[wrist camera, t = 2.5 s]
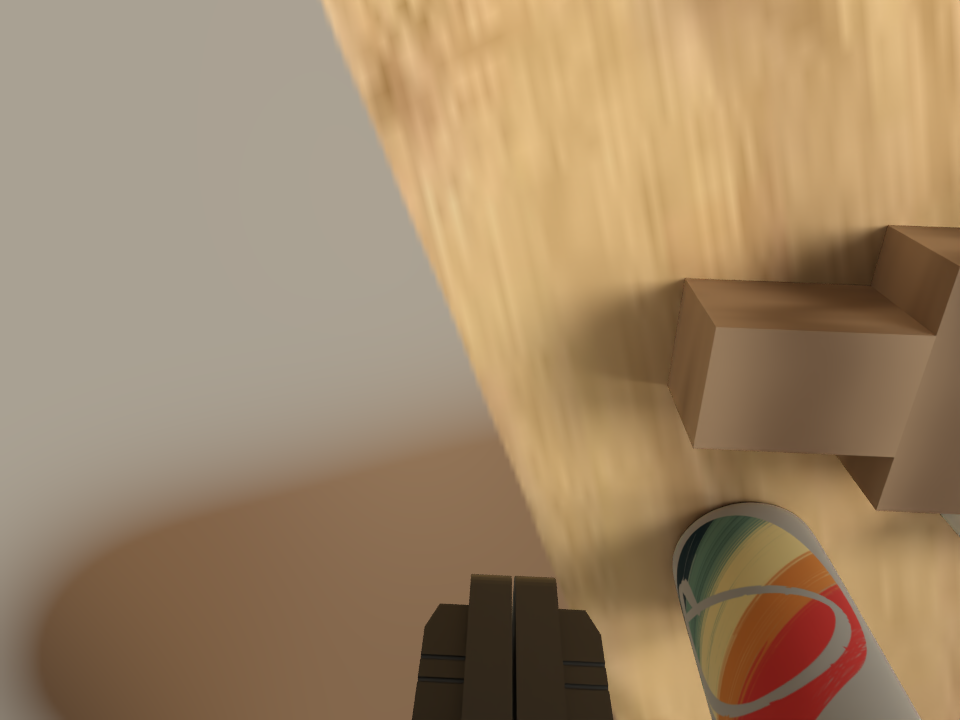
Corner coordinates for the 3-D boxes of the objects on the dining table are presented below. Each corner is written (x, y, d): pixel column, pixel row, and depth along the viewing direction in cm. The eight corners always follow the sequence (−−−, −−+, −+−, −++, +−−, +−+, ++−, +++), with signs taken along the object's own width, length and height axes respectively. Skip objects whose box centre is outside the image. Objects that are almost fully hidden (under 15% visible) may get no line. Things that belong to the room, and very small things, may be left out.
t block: (1018, 229, 22) (1116, 272, 18) (937, 445, 25) (1006, 516, 22) (694, 218, 22) (729, 258, 19) (659, 433, 26) (682, 501, 22)
